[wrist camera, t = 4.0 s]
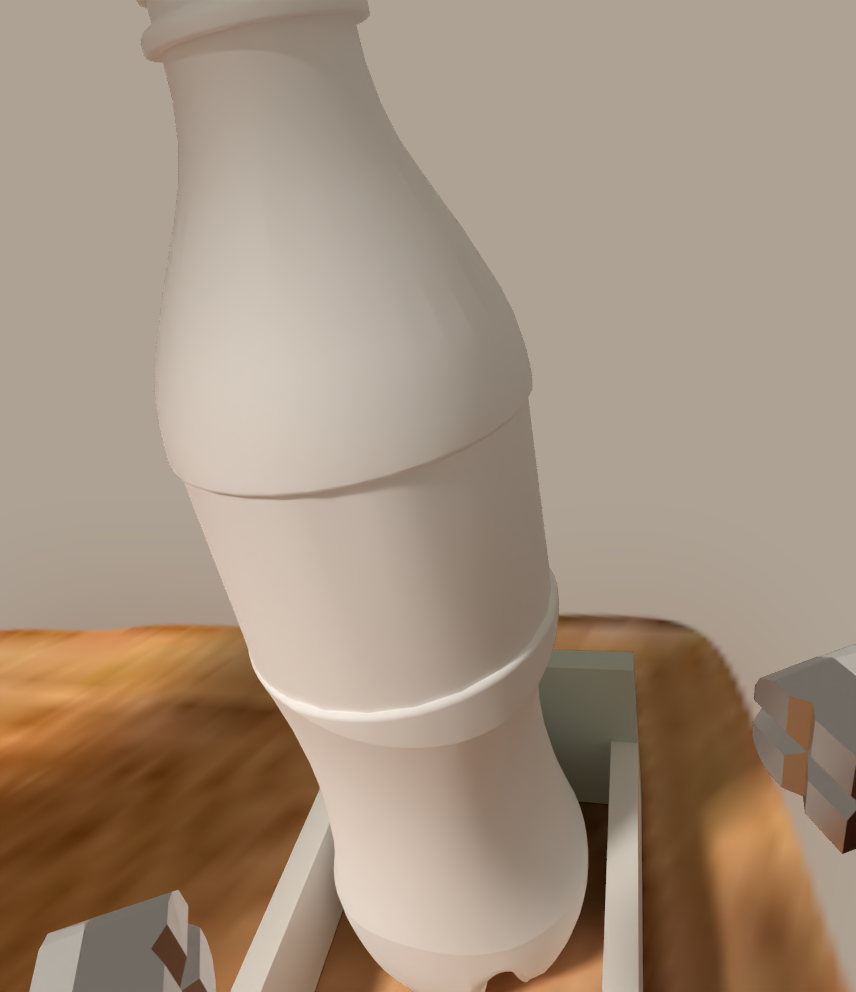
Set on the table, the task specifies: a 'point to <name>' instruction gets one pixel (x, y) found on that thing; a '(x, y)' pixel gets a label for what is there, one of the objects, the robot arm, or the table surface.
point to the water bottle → (367, 486)
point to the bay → (593, 777)
